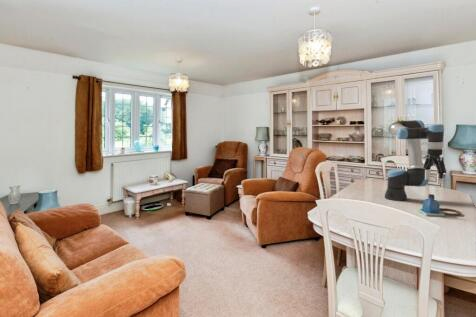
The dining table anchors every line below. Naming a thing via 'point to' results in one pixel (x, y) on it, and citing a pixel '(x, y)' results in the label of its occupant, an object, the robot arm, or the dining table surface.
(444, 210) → the ring
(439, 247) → the dining table surface
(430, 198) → the perfume bottle
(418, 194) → the dining table surface
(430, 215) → the tray
